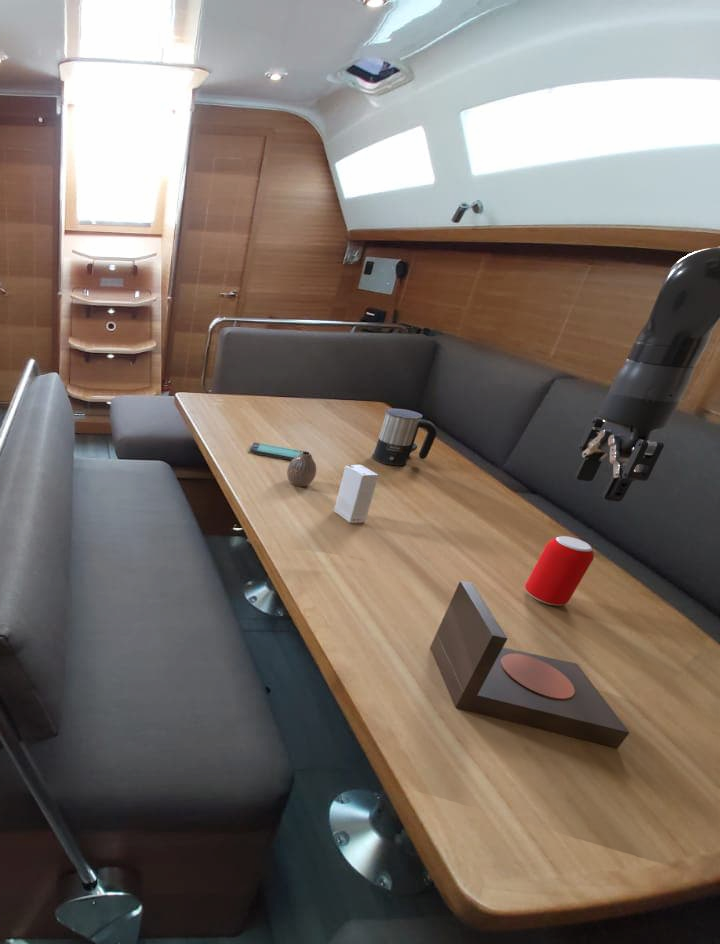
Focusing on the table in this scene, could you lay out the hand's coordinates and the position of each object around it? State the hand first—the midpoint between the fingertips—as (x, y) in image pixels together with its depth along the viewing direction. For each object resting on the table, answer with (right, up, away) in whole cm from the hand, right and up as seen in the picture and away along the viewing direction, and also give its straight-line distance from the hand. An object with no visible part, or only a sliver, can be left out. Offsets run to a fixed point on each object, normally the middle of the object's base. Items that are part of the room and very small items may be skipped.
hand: (596, 489), depth 82 cm
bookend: (-23, -29, -11) cm, 39 cm away
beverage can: (0, -20, +9) cm, 22 cm away
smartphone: (-26, +9, +69) cm, 74 cm away
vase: (-27, 0, +50) cm, 57 cm away
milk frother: (+10, +8, +70) cm, 71 cm away
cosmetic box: (-22, -7, +34) cm, 42 cm away
